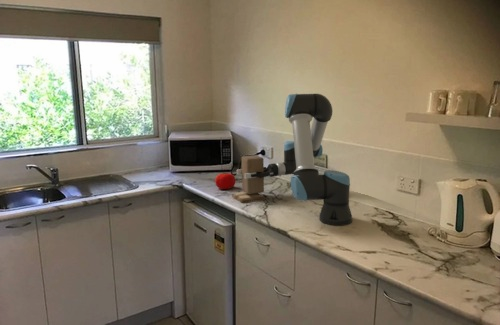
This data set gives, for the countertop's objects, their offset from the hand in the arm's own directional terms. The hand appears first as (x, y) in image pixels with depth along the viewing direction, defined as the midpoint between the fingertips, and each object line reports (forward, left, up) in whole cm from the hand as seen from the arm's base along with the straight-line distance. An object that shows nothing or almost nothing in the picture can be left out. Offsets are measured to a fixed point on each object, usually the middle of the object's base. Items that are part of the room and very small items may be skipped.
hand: (240, 174), depth 215 cm
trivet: (0, -4, -14) cm, 15 cm away
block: (0, -7, -11) cm, 13 cm away
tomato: (+25, 0, -15) cm, 29 cm away
